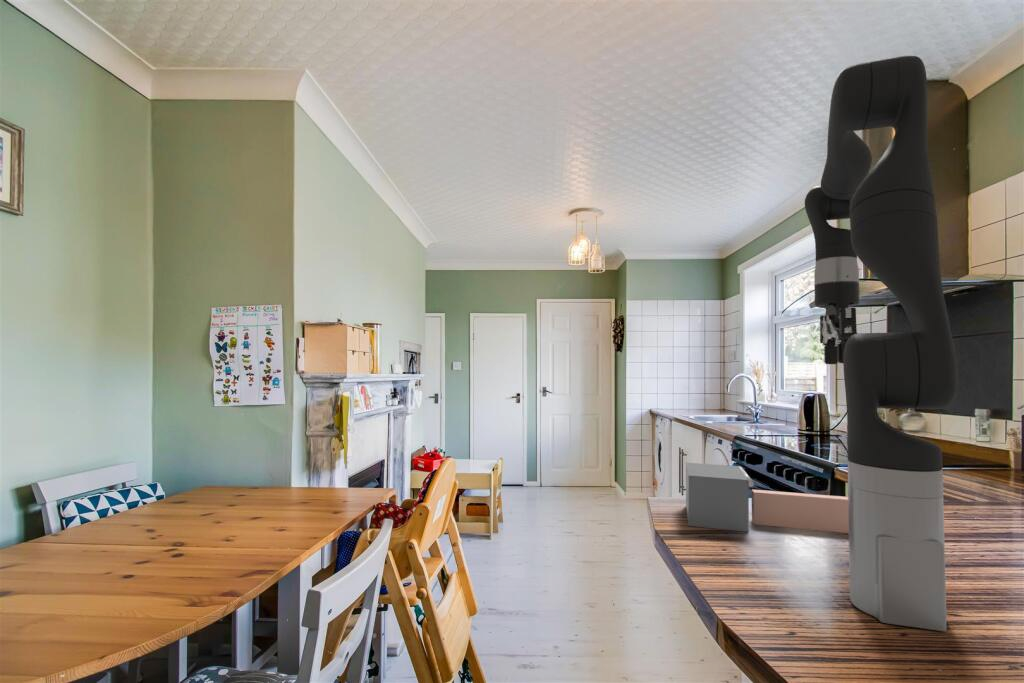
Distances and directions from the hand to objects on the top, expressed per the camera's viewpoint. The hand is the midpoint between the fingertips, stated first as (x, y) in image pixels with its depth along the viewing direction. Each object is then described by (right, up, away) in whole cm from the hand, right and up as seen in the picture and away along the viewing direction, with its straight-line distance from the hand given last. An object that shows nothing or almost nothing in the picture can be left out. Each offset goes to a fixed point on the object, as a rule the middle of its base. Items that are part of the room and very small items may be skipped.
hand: (837, 363), depth 101 cm
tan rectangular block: (-12, -30, -8) cm, 33 cm away
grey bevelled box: (-26, -30, -3) cm, 39 cm away
